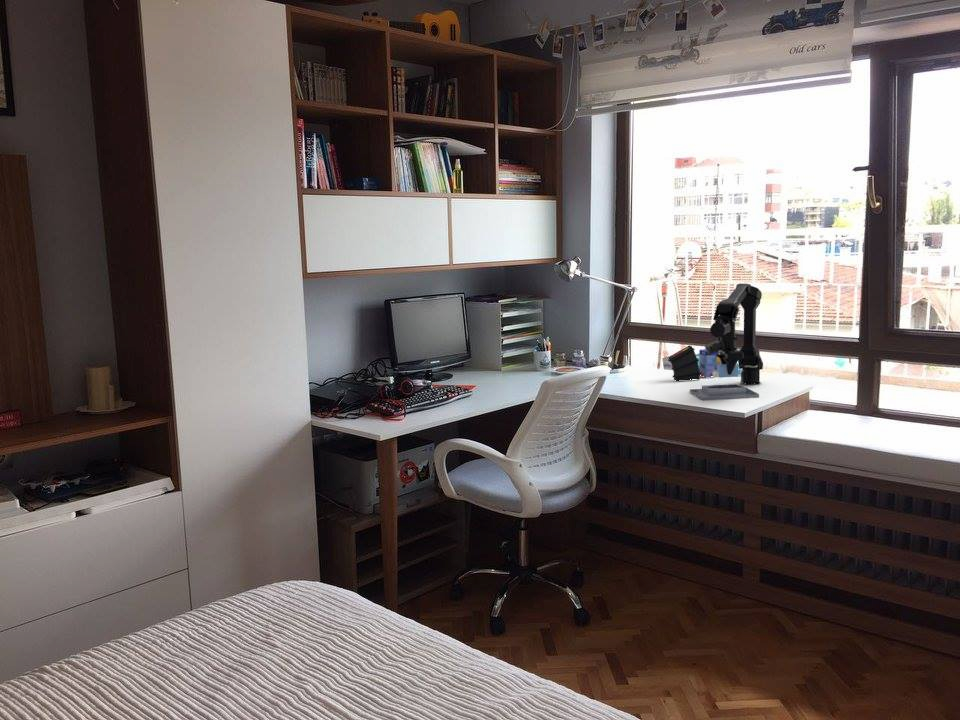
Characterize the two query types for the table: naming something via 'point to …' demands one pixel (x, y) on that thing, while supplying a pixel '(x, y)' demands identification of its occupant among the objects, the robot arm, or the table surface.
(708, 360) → the ink cartridge box
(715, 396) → the chassis
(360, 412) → the table surface
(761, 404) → the table surface
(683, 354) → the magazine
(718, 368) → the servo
